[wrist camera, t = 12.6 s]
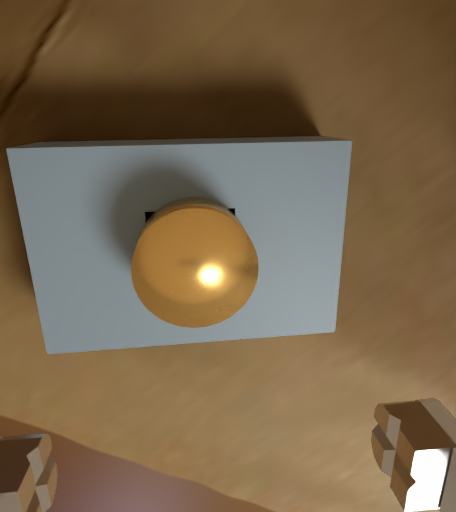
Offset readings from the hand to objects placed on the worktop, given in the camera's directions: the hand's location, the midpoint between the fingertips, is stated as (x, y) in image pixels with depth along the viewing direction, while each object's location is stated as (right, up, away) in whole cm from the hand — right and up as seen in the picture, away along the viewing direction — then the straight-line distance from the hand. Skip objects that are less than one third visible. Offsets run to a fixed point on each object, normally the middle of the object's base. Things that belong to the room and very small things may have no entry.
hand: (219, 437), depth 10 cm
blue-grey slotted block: (-2, +6, +17) cm, 19 cm away
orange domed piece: (-2, +6, +17) cm, 18 cm away
